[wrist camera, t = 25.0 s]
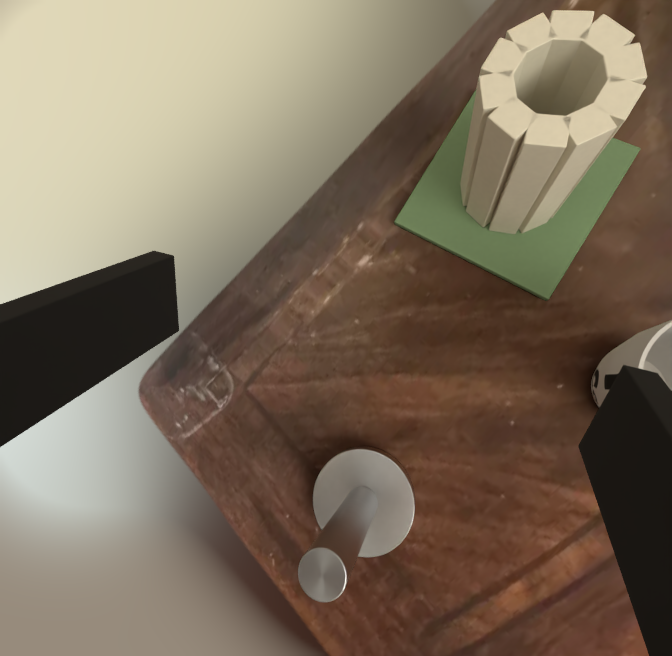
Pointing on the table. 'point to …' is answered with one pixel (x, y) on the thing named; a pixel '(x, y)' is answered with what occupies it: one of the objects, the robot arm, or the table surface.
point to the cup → (636, 359)
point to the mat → (521, 248)
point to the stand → (355, 517)
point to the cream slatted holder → (546, 115)
